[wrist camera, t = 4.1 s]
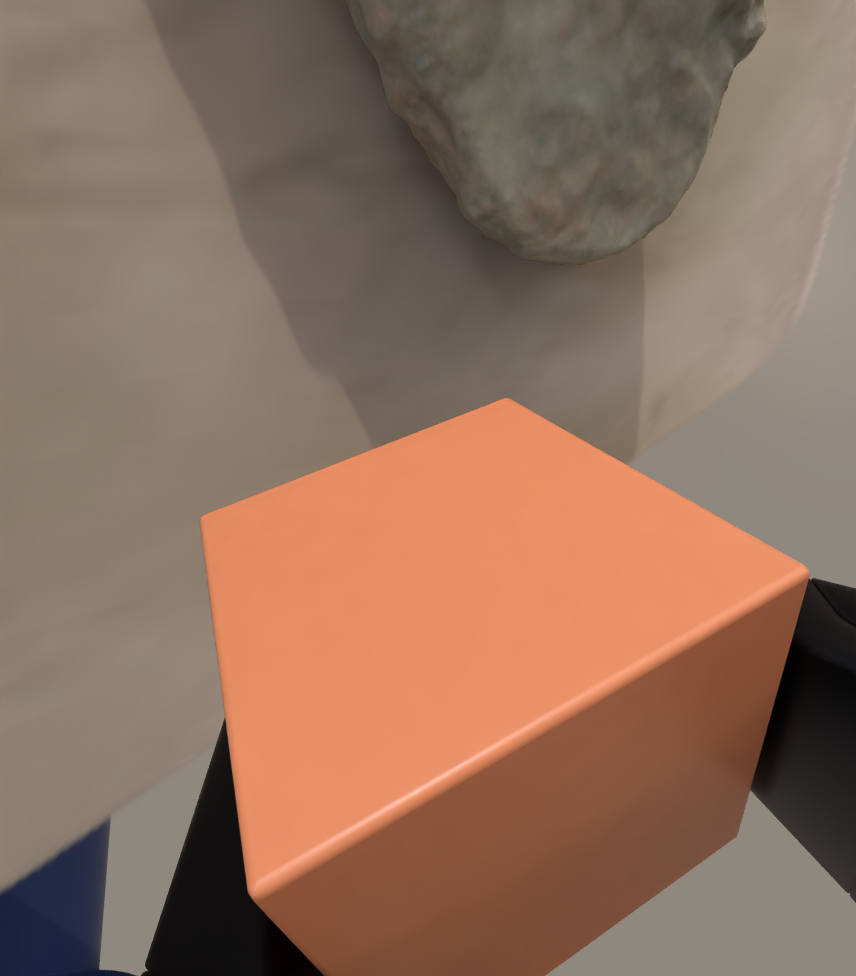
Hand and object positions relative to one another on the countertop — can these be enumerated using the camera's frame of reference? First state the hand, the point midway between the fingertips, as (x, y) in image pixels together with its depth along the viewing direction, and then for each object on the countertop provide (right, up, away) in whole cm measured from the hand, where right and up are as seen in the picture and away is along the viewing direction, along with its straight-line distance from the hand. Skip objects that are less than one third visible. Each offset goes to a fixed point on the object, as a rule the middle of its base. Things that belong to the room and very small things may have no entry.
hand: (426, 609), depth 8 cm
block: (0, 0, +1) cm, 1 cm away
